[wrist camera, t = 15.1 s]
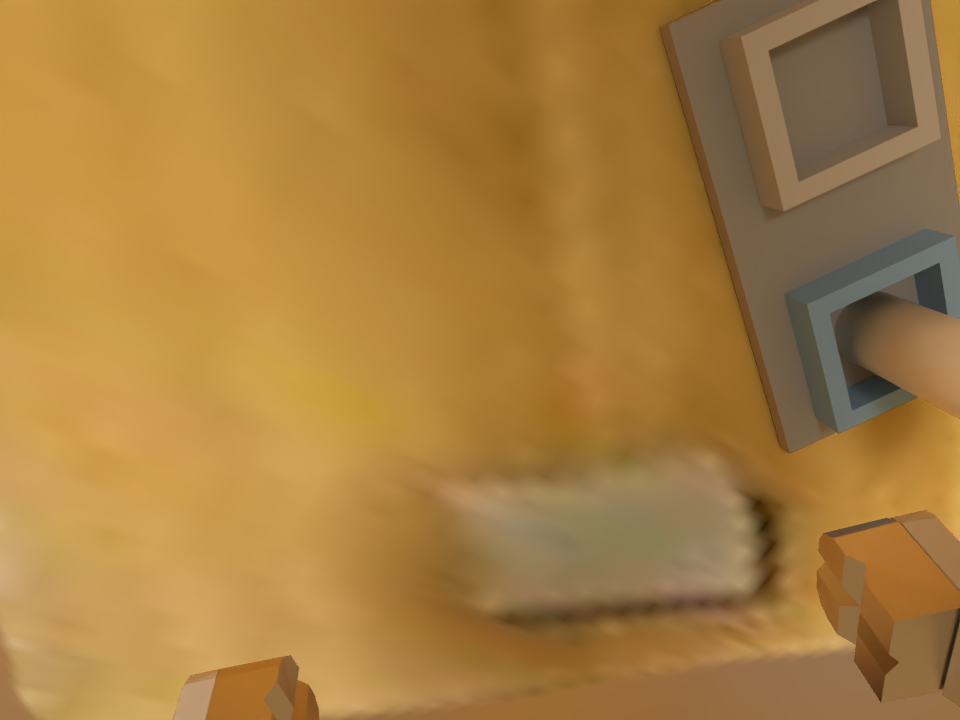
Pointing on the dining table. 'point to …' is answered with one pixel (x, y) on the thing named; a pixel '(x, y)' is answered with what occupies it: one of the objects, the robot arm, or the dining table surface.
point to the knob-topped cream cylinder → (904, 346)
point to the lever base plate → (821, 183)
